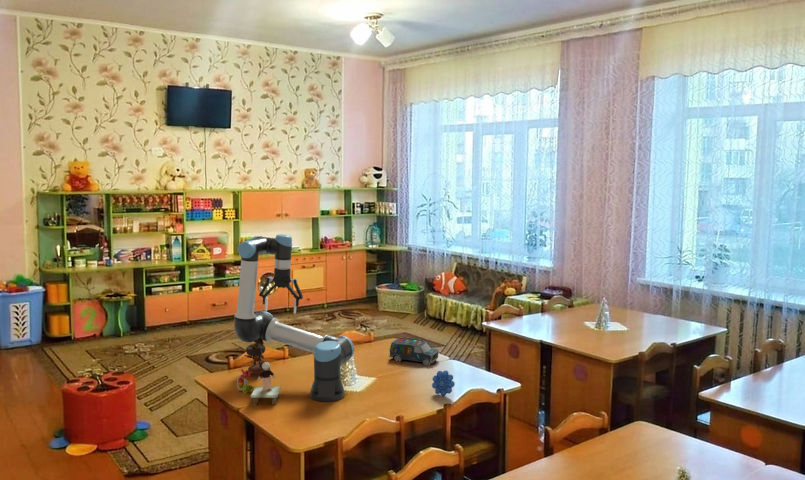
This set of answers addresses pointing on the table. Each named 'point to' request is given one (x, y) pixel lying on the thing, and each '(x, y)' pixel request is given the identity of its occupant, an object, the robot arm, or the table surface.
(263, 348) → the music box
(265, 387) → the grandmother figurine
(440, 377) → the blue bumpy round piece
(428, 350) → the toy van
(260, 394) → the miniature table
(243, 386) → the flower ornament
